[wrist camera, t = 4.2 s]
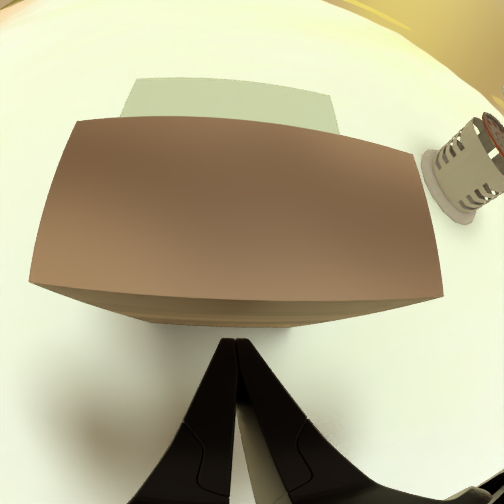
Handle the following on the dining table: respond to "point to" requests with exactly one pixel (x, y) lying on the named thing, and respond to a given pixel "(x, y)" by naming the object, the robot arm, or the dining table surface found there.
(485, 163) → the french press
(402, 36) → the dining table surface
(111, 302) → the slab
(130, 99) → the mat
